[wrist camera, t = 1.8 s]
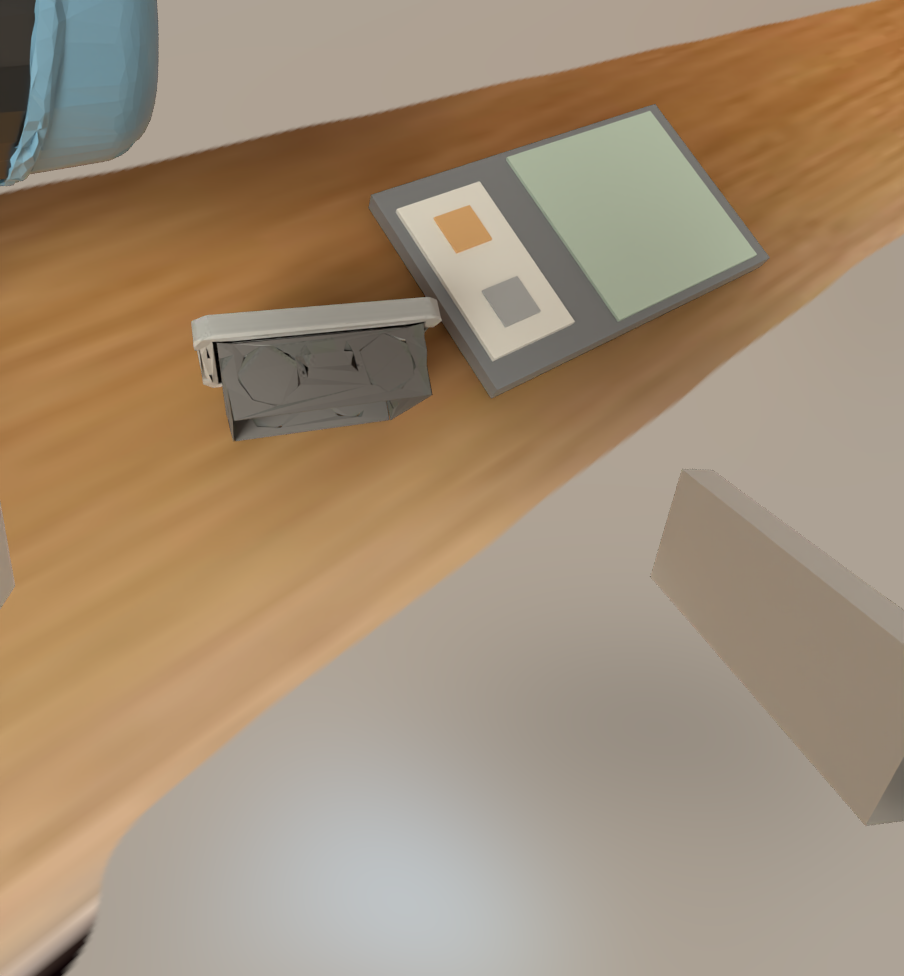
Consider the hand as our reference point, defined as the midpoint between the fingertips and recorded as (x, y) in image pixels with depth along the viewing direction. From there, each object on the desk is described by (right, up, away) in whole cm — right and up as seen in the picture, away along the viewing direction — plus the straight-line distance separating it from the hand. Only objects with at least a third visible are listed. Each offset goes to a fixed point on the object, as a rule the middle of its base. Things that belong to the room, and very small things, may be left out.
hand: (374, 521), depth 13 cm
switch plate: (+9, +16, +27) cm, 33 cm away
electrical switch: (-5, +4, +20) cm, 21 cm away
